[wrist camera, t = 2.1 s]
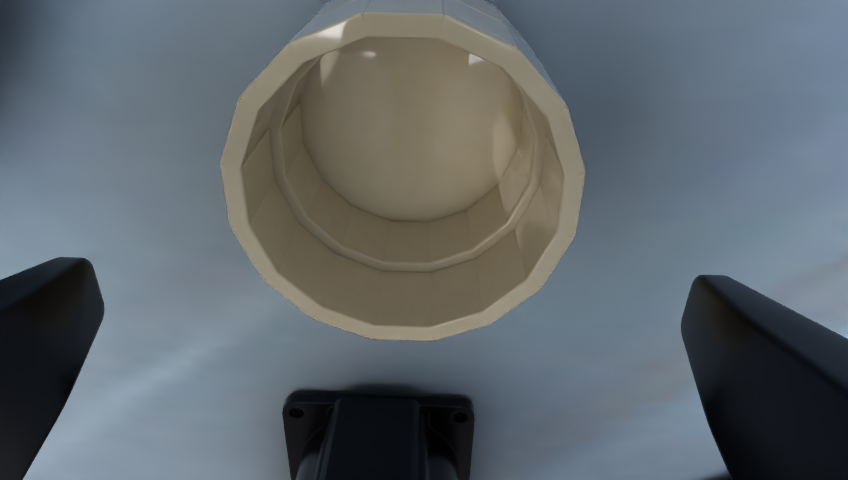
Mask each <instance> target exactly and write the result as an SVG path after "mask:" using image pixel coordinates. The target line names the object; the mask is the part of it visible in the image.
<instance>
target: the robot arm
mask: <svg viewBox="0 0 848 480" xmlns="http://www.w3.org/2000/svg"><path fill="white" fill-rule="evenodd" d="M103 316H104V302H103V298H102V295H101V292H100V288H99V285H98V281H97V278H96V275H95V271H94V268H93V266H92V264H91V262H90V261H89V260H87V259H85V258H75V257H59V258H55V259H52V260H50V261H47V262H45V263H42V264H40V265H37V266H35V267H32V268H29V269H27V270H24V271H22V272H19V273H17V274H14V275H12V276H9V277H7V278H4V279H2V280H0V480H23V478H24V476H25V475H26V473H27V471H28V469H29V468H30V466H31V464H32V462H33V461H34V459H35V457H36V455H37V454H38V452H39V450H40V448H41V447H42V445H43V443H44V441H45V440H46V438H47V436H48V434H49V433H50V431H51V429H52V427H53V426H54V424H55V422H56V421H57V419H58V417H59V415H60V413H61V411H62V409H63V408H64V406H65V404H66V402H67V399H68V397H69V395H70V393H71V391H72V389H73V387H74V384H75V382H76V380H77V377H78V375H79V373H80V371H81V368H82V366H83V364H84V361H85V359H86V357H87V354H88V352H89V350H90V348H91V345H92V343H93V341H94V338H95V336H96V334H97V331H98V329H99V327H100V325H101V322H102V320H103ZM681 333H682V338H683V341H684V345H685V348H686V351H687V355H688V358H689V362H690V365H691V369H692V372H693V375H694V379H695V382H696V386H697V389H698V392H699V396H700V399H701V403H702V406H703V409H704V412H705V416H706V419H707V422H708V424H709V427H710V429H711V432H712V435H713V437H714V439H715V442H716V444H717V447H718V449H719V451H720V454H721V456H722V458H723V461H724V463H725V465H726V468H727V470H728V472H729V475H730V477H731V479H732V480H848V339H847V338H845V337H843V336H841V335H839V334H837V333H835V332H833V331H831V330H829V329H828V328H826V327H824V326H822V325H820V324H818V323H816V322H814V321H812V320H810V319H808V318H806V317H805V316H803V315H801V314H799V313H797V312H795V311H793V310H791V309H789V308H787V307H785V306H783V305H782V304H780V303H778V302H776V301H774V300H772V299H770V298H768V297H766V296H764V295H762V294H760V293H759V292H757V291H755V290H753V289H751V288H749V287H747V286H745V285H743V284H741V283H739V282H737V281H736V280H734V279H732V278H730V277H728V276H723V275H699V276H698V277H696V278H695V279H694V281H693V283H692V286H691V289H690V292H689V296H688V299H687V303H686V306H685V310H684V313H683V317H682V321H681ZM296 407H297V408H301V409H302V410H298V409H295V408H296ZM458 412H462V413H463V414H455V413H458ZM282 414H283V421H284V429H285V436H286V444H287V452H288V459H289V467H290V474H291V480H469V476H470V465H471V453H472V442H473V430H474V419H475V417H474V407H473V404H472V403H471V402H470V401H468V400H466V399H462V398H435V397H400V396H365V395H330V394H292V395H290V396H288V397H287V399H286V400H285V403H284V407H283V411H282Z"/></svg>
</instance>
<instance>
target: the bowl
mask: <svg viewBox="0 0 848 480" xmlns="http://www.w3.org/2000/svg"><path fill="white" fill-rule="evenodd" d="M220 169H221V175H222V181H223V187H224V194H225V200H226V206H227V212H228V219H229V225H230V226H231V230H232V231H233V233H234V235H235V236H236V238H237V239H238V241H239V243H240V244H241V246H242V247H243V249H244V251H245V252H246V254H247V256H248V257H249V259H250V260H251V262H252V264H253V265H254V267H255V268H256V270H257V272H258V273H259V275H260V276H261V278H262V279H263V280H264V281H265V283H267V284H268V285H269V286H271V287H272V288H273V289H274V290H276V291H277V292H278V293H280V294H281V295H282V296H283V297H285V298H286V299H287V300H289V301H290V302H291V303H293V304H294V305H295V306H296V307H298V308H299V309H300V310H302V311H303V312H304V313H305V314H307V315H308V316H309V317H311V318H313V319H314V320H317V321H320V322H323V323H325V324H328V325H331V326H334V327H337V328H340V329H343V330H345V331H348V332H351V333H354V334H357V335H360V336H363V337H365V338H368V339H371V338H372V339H373V340H407V341H432V340H433V341H435V340H439V339H442V338H445V337H449V336H452V335H456V334H459V333H463V332H466V331H469V330H473V329H476V328H480V327H483V326H486V325H490V324H491V323H494V322H495V321H496V320H498V319H499V318H501V317H502V316H503V315H505V314H506V313H508V312H509V311H510V310H512V309H513V308H515V307H516V306H517V305H519V304H520V303H522V302H523V301H524V300H526V299H527V298H529V297H530V296H531V295H533V294H534V293H536V292H537V291H538V290H540V288H541V287H543V285H544V284H545V282H546V281H547V279H548V277H549V276H550V274H551V273H552V271H553V270H554V268H555V267H556V265H557V264H558V262H559V261H560V259H561V258H562V256H563V254H564V253H565V251H566V250H567V248H568V247H569V245H570V244H571V242H572V241H573V239H574V236H575V235H576V230H577V224H578V218H579V212H580V206H581V200H582V194H583V188H584V182H585V176H586V174H585V166H584V163H583V159H582V156H581V152H580V148H579V145H578V141H577V138H576V134H575V130H574V127H573V123H572V120H571V116H570V113H569V109H568V107H567V105H566V103H565V101H564V100H563V98H562V96H561V95H560V93H559V91H558V90H557V88H556V87H555V85H554V83H553V82H552V80H551V78H550V77H549V75H548V73H547V72H546V71H545V69H544V67H543V66H542V64H541V62H540V61H539V59H538V57H537V56H536V54H535V52H534V51H533V49H532V48H531V46H530V45H529V44H528V43H527V42H526V40H525V39H524V38H523V37H522V36H521V35H520V33H519V32H518V31H517V30H516V29H515V28H514V26H513V25H512V24H511V23H510V22H509V20H508V19H507V18H506V17H505V16H504V15H503V13H502V12H501V11H500V10H499V9H498V8H495V6H494V5H493V4H491V3H489V2H487V1H484V0H331V1H330V2H329V3H328V4H326V5H325V6H324V7H323V8H322V9H321V10H320V11H319V12H318V13H317V14H316V15H315V16H314V17H313V18H312V19H311V20H310V21H309V22H308V23H307V24H306V25H305V26H304V27H303V28H302V29H301V30H300V31H299V32H298V33H297V34H296V35H295V36H294V37H293V38H292V39H291V40H290V41H289V42H288V43H287V44H286V45H285V46H284V47H283V48H282V49H281V51H280V52H279V53H278V54H277V55H276V56H275V57H274V58H273V59H272V61H271V62H270V63H269V64H268V65H267V66H266V67H265V68H264V69H263V70H262V72H261V73H260V74H259V75H258V76H257V77H256V78H255V79H254V80H253V82H252V83H251V84H250V85H249V86H248V87H247V88H246V89H245V90H244V92H243V93H242V94H241V95H240V98H239V99H238V101H237V104H236V107H235V111H234V114H233V118H232V121H231V125H230V128H229V132H228V135H227V139H226V142H225V146H224V149H223V153H222V156H221V159H220Z"/></svg>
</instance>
